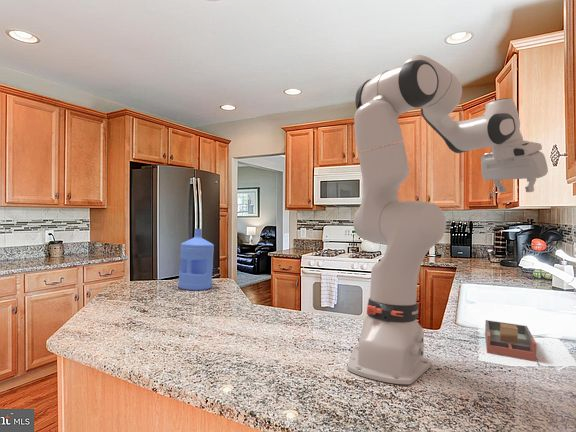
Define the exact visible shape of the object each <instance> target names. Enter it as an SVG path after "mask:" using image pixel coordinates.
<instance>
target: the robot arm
mask: <svg viewBox="0 0 576 432" xmlns="http://www.w3.org/2000/svg"><path fill="white" fill-rule="evenodd" d="M462 95H463V86H462V83H461V82H460V80H459V78H458V77H457V76H456V75H455V74H454V73H453V72H451V71H450V70H449V69H448V68H447V67H445V66H443V65H442V64H441V63H439V62H438V61H436V60H434V59H432V58H430V57H428V56H427V55H423V54H417V55H412V56H411V57H409V58H408V59H407V60H405V61H404V62H403V63H402V64H401V65H399V66H395V67H393V68H391V69H387V70H385V71H382V72H381V73H379V74H378V75H376V76H374V77H373V78H372V77H371V79H367V80H366V81H365V82H363V83H362V84H361V85H360V86H359V87H358V89H357V91H356V94H355V98H354V99H355V100H354V101H355V107H356V111H355V113H354V118H353V120H354V122H353V126H354V138H355V144H356V145H355V146H356V151H357V155H358V161H359V165H360V172H361V176H362V177H361V178H362V188H363V190H362V199H361V203H360V205H359V208H357V210H356V212H355V214H354V216H353V219H352V220H353V221H352V223H353V229H354V232H355V234H356V235H357V236H358V237H359V238H361V239H362V240H365V241H367V242H370V243H373V244H380V245H381V244H382V245H386V250H385V252H384V255H383V257H382V259H381V260H380V261H377V263H374V265H373V266H372V267H371V271H370V292H369V293H370V295H369V297H368V302H367V304H366V305H367V306H366V314H367V316H365V317H364V318H363V322H362V323H363V324H362V327H361V332H360V336H358V339H357V341H358V345H354V346H353V349H352V351H351V355H350V357H349V360H348V363H347V371H349V372H351V373H353V374H355V375H357V376H361V377H362V378H363V377H364V378H367V379H370V380H371V379H372V380H375V381H379V382H384V383H388V384H389V383H390V384H397V385H412V384H413V383H414V382H415V381H417V379H418V378H420V377H421V376H422V375H423V374H424V373H425V372H427V370H428V369H430V368H431V367H432V361H431V360H430V359H428V358H426V357H425V355H424V354H425V353H424V352H425V351H424V348H425V344H424V343H425V342H424V341H425V339H424V338H425V336H424V333H425V331H424V327H422V326H421V324H420V322H419V321H418V320H417V319H418V318H419V317H418V316H419V315H418V314H419V304H418V303H417V294H418V293H417V292H418V291H417V290H418V281H419V280H418V279H419V272H420V268H421V266H422V263H423V261H424V258H425V256H426V255H427V253H428V252H429V251H430V250H431V248H433V247H434V246H435V245H436V244H438V243H439V242H441V240H442V239H443V238H444V236H445V235H444V234H445V232H446V230H447V220H446V216H445V214H444V212H443V210H442V209H441V207H440V206H439V205H437V204H434V203H430V202H426V201H423V200H422V201H421V200H402V201H401V200H399V189H400V186H401V184H403V183H404V182H405V181H406V179H407V178H408V176H409V173H410V167H409V163H408V157H407V151H406V147H405V142H404V137H403V134H402V129H401V126H400V123H399V116H400V115H402V114H404V113H408V112H410V111H412V110H415V109H416V108H420V114H421V116H422V118H423V120H424V121H425V122H426V123H427V124H428V125H429V127H431V128H432V130H433V131H435V132H436V133H437V134H438V136H440V138H442V140H443V141H444V143H445V145H446V146H447V147H448V149H449V150H450V151H452V152H453V153H456V154H462V153H465V152H469V151H474V150H479V149H480V150H481V149H486V148H490V149H491V152H485V153H483V154H482V155H481V157H480V161H481V166H480V167H481V168H480V169H481V176H482V179H483V181H493V184H494V185H495V187H496V188H497V191H498V193H505V192H506V191H507V189H506V188H507V187H506V186H505V185H503V184H502V181H504V180H522V179H523V180H525V179H526V181H527V182H528V185H527V186H525V187H524V188H525V192H526V193H533V192H534V191H535V187H534V186H535V183H536V181H537V179H539V178H542V177H543V178H544V177H545V176H546V175H547V174H548V172H549V168H548V164H547V159H546V156H545V154H544V153H543V152H542V151H541V150H542V149H543V145H542V144H541V143H539V142H533V141H528V140H524V137H523V135H522V133H521V130H520V128H521V121H520V115H519V112H518V108H517V106H516V103H515V101H514V100H513V99H512V98H509V97H505V98H499V99H495V100H491V101H489V102H487V103H486V104H485V112H483V114H481V115H480V116H478V117H473V118H470V119H466V120H454V119H453V118H452V117H451V116H450V114H452V112H454V110H455V109H456V108H457V106H458V104H459V103H460V101H461V99H462V97H463V96H462Z"/></svg>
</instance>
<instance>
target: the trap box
mask: <svg viewBox="0 0 576 432" xmlns="http://www.w3.org/2000/svg"><path fill="white" fill-rule="evenodd" d="M500 323H501V324H508V325H515V326H517V328H518V338H517V343H512V342H506V341H501V340H500ZM484 328H485V329H484V336H485V346H486V353H487V354H493V355H499V356H505V357H508V358H509V357H510V358H517V359H521V360H525V361H526V360H527V361H531V362H537V346H538V345H537V342H536V339H535V338H534V336H533V335H532V333H531V331H530V329H529V328H528V326H527V325H525V324H517V323H509V322H501V321H495V320H488V319H485V327H484Z"/></svg>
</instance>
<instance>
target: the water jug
mask: <svg viewBox="0 0 576 432" xmlns="http://www.w3.org/2000/svg"><path fill="white" fill-rule="evenodd" d="M202 230H203V229H202V228H195V229H194V236H193V237H192V238H190V239H188V240H186V241H184V242H181V243H180V247H179V248H180V251H179V252H180V253H179V257H180V262H179V263H180V265H179V272H178V273H179V275H178V282H177V284H178V285H177V286H178V288H179V289H181V290H185V291H206V290H209V289H212V287H213V270H214V254H215V253H214V251H215V249H214V247H215V245H214V244H213V243H212V242H210V241H208V240H206V239H204V238H203V237H202Z"/></svg>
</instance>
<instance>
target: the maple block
mask: <svg viewBox="0 0 576 432" xmlns="http://www.w3.org/2000/svg"><path fill="white" fill-rule="evenodd" d="M517 338H518V328H517V326H515V325H508V324H501V323H500V340H501V341H506V342H512V343H517Z"/></svg>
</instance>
